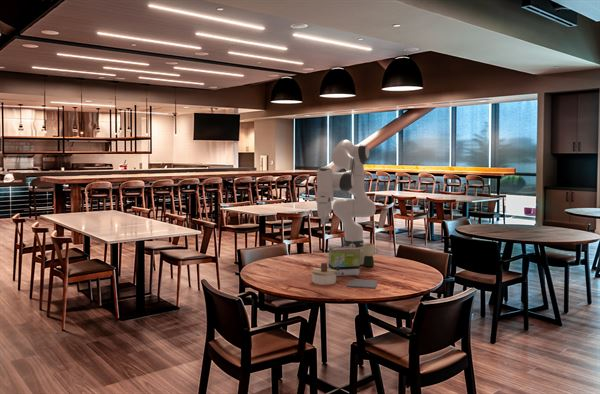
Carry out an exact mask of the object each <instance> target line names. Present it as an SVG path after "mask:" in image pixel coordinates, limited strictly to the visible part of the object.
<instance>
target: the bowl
mask: <svg viewBox="0 0 600 394" xmlns="http://www.w3.org/2000/svg"><path fill="white" fill-rule="evenodd" d="M311 274H312V275H311V277H312V278H311V281H312V283H314V284H315V285H323V286H325V285H327V286H328V285H334V284H336V283H337V276H336V274H334V275H315V274H313V273H312V272H311Z"/></svg>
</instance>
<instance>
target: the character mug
mask: <svg viewBox="0 0 600 394" xmlns="http://www.w3.org/2000/svg"><path fill="white" fill-rule="evenodd" d="M361 249H363V251H361ZM360 253H363V255H364V256H365V257H364V263H363V264H362V265H363V266H365V267H373V266H375V261H374V256H375V255H376V254H378V253H379V247H376V244H374V243H364V244H363V247H360Z"/></svg>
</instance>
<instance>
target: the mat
mask: <svg viewBox="0 0 600 394" xmlns="http://www.w3.org/2000/svg"><path fill="white" fill-rule="evenodd" d="M378 282H379V281H378V280H375V279H374V280H371V279H359V278H358V279H357V278H350V280H349V282H348V283H347V285H346V287H348V288H358V289H359V288H361V289H362V288H364V289H376V288H377V286H378Z"/></svg>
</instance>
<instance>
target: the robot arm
mask: <svg viewBox="0 0 600 394" xmlns="http://www.w3.org/2000/svg"><path fill="white" fill-rule="evenodd" d="M369 159H370V149H369V147H368V146H367V145H366V144H364V143H363V144H353V143H352V142H351V141H350V140H349V139H342V140H340V141H339V142H338V144H336V146H335V147H334V149H333V151H332V153H331V161H332V164H334V166H335V167H337V168H340V169H344V170H345V171H344V172H340V171H339V172H338V171H337V172H336V171H333V168H332V167H331V166H325V165H324V166H320V167H319V168H317V173H316V186H317V188H316V199H315V203H316V209H317V211H316V213H317V217H318V218H320V221H321V226H325V225H326V223H329V218H330V214H331V213H332V211H333V214H334V215H335V216H336V217H337V218H338V219H339V220H340V222H341V223H342V225H343V230H344V240H343V247H346V246H354V247H356V248H358V249H360V247H363V244H365V241H364V228H363V226H362V225H361V224H360V223H358V222H356V221H355V220H354V218H370V217H373V216H374V215H375V214H376V209H377V207H376V204H375V202H374V201H373V200H372V199H371V198H369V196H368V195H367V193H366V189H365V169H364V165H365V164H366V162H367V161H368V160H369ZM334 191H345V192H348V193H349V194H350V195H351V196H352V195H353V196H354V197H355V198H342V199H337V200H335V201H334ZM333 201H334V202H333ZM332 202H333V204H332ZM361 251H363V249H361ZM364 257H365V256H364V255H363V253H360V265H363V263H364Z"/></svg>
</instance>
